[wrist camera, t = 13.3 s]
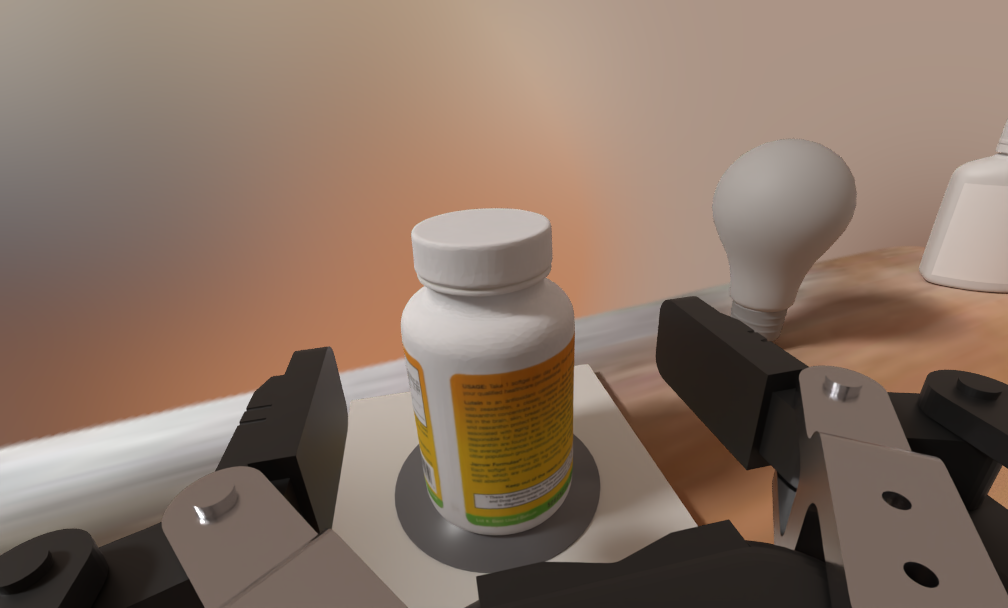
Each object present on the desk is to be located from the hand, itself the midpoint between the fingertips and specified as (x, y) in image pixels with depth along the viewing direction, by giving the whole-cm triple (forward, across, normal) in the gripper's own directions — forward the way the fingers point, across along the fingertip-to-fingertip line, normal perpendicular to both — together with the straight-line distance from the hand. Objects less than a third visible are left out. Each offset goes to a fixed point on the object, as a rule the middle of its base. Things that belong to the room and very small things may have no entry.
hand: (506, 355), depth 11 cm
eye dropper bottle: (+13, -35, +8) cm, 38 cm away
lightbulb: (+10, -16, +8) cm, 21 cm away
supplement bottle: (+3, 0, +8) cm, 8 cm away
